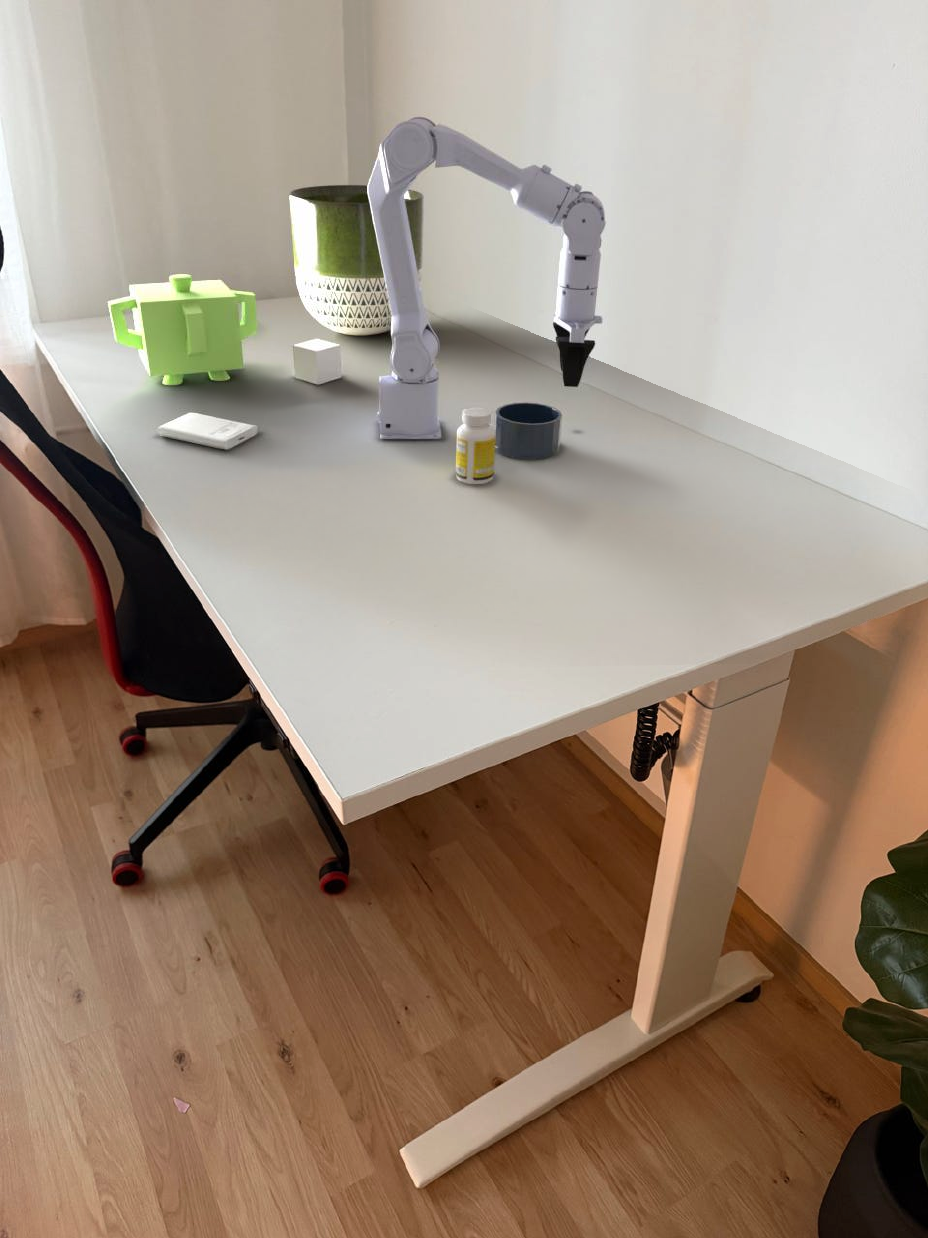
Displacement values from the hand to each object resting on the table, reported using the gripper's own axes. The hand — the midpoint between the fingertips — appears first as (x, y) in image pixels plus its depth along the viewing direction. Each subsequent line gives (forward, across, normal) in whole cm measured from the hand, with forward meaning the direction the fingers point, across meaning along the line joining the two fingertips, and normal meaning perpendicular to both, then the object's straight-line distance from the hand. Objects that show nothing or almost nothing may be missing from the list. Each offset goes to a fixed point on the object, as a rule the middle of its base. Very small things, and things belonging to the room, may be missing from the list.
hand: (569, 378), depth 143 cm
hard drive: (+10, -3, +55) cm, 56 cm away
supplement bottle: (+10, -16, +14) cm, 23 cm away
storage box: (+10, +28, +66) cm, 73 cm away
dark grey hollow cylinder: (+10, -3, +6) cm, 12 cm away
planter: (+10, +62, +40) cm, 74 cm away
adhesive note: (+10, +28, +43) cm, 53 cm away
